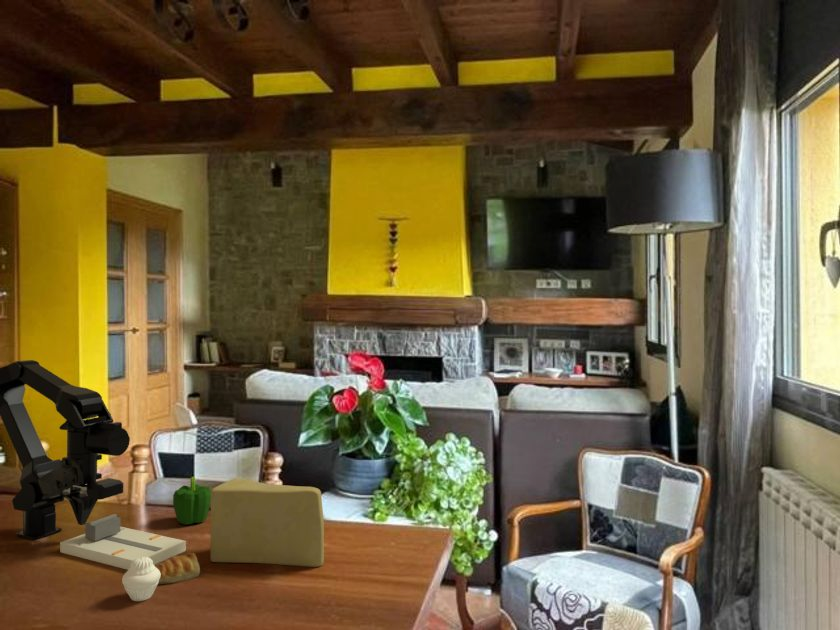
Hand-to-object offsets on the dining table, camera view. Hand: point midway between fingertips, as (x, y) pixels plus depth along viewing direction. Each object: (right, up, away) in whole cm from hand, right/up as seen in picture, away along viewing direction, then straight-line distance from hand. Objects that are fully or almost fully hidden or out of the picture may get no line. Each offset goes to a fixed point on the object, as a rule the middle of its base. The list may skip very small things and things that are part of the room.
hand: (81, 524), depth 135 cm
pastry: (+27, -5, -17) cm, 32 cm away
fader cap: (+6, -1, -3) cm, 7 cm away
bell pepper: (+19, -4, +13) cm, 23 cm away
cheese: (+42, -5, -9) cm, 43 cm away
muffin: (+24, -4, -26) cm, 35 cm away
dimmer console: (+11, -4, -5) cm, 13 cm away
